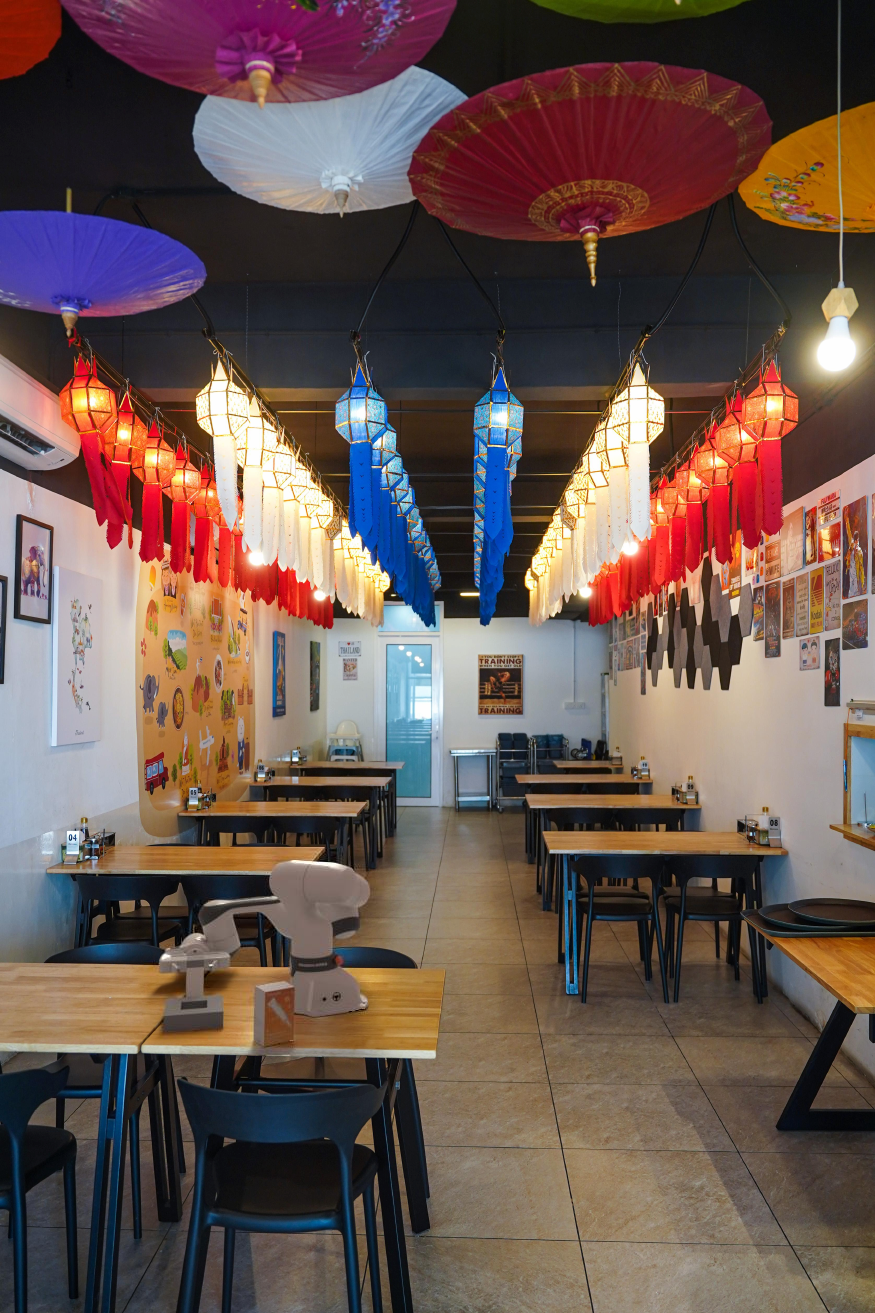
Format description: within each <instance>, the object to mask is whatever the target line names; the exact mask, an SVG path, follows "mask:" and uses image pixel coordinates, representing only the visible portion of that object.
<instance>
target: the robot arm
mask: <svg viewBox="0 0 875 1313" xmlns="http://www.w3.org/2000/svg"><path fill="white" fill-rule="evenodd" d="M268 881H269V882H268V883H269V889H270V891H271V893H272V894H273V895H267V896H266V895H265V896H255V897H244V898H235V899H233V898H232V899H214V900H210V901H207V902H206V903H204V904H203V905H202V907H201V908H200V910H199V912H198V915H197V917H198V920H199V922H200V925H201V926H200V927H202V930H203V931H202V932H203V934H202V933H199V932H196V933H195V932H194V933H191V934H189V935H188V936H186V937H185V938H184V939H183V941H182V943H181V944H180V945H178V946H171V947H167V948H166V949H165V951H164V953H163V954H162V955H161V956H160V958H159V960H158V973H159V974H171V973H174V974H175V975H176V974H181V973H186V972H187V957H188V956H204V971H209V972H215V970H216V971H217V970H225V969H226V970H227V969H228V968H230V965H231V964H230V963H231V959H233V958H234V957H235V956H236V954H237V953H238V952H239V950H240V949H241V943H240V938H239V934H238V931H237V928H236V927H237V926H236V924H235V921H234V915H235V914H236V915H238V914H245V913H256V912H257V913H262V914H263V915H264V916H265V917H267V919H268V920H269V921H270V922H271V924H272V925H273V926H274V928H275V929H276V930H277V931H278V933H280V934H281V935H282V936H284V937H286V938H288V939H290V940H291V953H290V956H289V975H290V979H289V980H290V982H289V984H291V985H292V986H294V987H295V998H294V1014H300V1015H304V1016H309V1017H313V1018H317V1017H324V1016H331V1015H338V1014H343V1013H350V1012H349V1011H352V1012H356V1011H355V1010H359V1009H364V1008H366V1007H367V1006H368V1007H369V1002H368V1001H369V1000H368V998H367V997H366V996H365V994H363V993H361V991H360V985H359V983H358V980H357V978H356V977H354V976H353V975H352V974H351V973H349V972H348V971H347V970H345V969H344V968H343V967H342V966H341V965H343V964H344V959H343V957H342V956H340V954H339V953H337V952H336V951H333V939H338V940H339V939H340V940H341V939H343V940H344V939H348V938H351V937H352V936H353V935H355V934H357V933H358V931H359V930H360V928H361V918H360V915H359V910H358V909H359V908H360V907H362V906H363V905H366V903H367V902H368V901H369V898H370V896H371V888H370V884H369V882H368V881H367V880H366V879H365V878H364V877H363V876H361V875H360V874H358V873H356V872H355V871H354V868H352V867H350V866H348V865H343V864H340V863H336V862H324V861H307V860H288V861H287V860H286V861H282V862H278V863H277V864H276V865H275V866H274V867H273V868H272V870H271V872H270V875H269V880H268ZM368 1007H367V1008H368ZM367 1008H366V1009H367ZM359 1011H360V1010H359Z"/></svg>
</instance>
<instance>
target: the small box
mask: <svg viewBox="0 0 875 1313" xmlns="http://www.w3.org/2000/svg"><path fill="white" fill-rule="evenodd" d="M253 993H254V995H253V996H254V997H253V1000H254V1001H253V1035H252V1037H253V1038H252V1039H253V1041H254V1042H256V1043H257V1044H259V1045H260V1046H262V1047H263V1048H265V1047H269V1046H274V1045H273V1044H275V1045H279V1043H280V1044H284V1042H285V1043H289V1042H288V1041H290V1040H293V1041H294V1038H295V1037H294V1032H295V1013H294V998H295V987H294V986H292V985H291V984H290V982H287V981H285V980H282V981H277V982H270V983H265V984H259V985H254V992H253ZM290 1042H291V1041H290Z"/></svg>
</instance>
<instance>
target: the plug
mask: <svg viewBox="0 0 875 1313" xmlns="http://www.w3.org/2000/svg"><path fill="white" fill-rule="evenodd" d="M204 972H205V970H204V956H188V957H187V972H185V973H186V976H185V977H186V979H185V984H186V985H185V997H196V996H204V978H205V977H204V976H205V975H204V974H205V973H204Z"/></svg>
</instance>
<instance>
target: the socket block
mask: <svg viewBox="0 0 875 1313" xmlns="http://www.w3.org/2000/svg"><path fill="white" fill-rule="evenodd" d="M223 999H224V997H223V994H213V995H211V994H210V995H203V996H196V997H186V996H185V997H183V996H182V997H172V998H171V997H170V998H166V999H165V1003H164V1004H165V1005H164V1011H163V1021H162V1022H163V1027H162V1032H163V1033H174V1032H186V1031H196V1030H198V1031H199V1030H210V1029H211V1030H212V1029H220V1028H222V1029H223V1028H224V1012H225V1011H224V1000H223Z"/></svg>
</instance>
